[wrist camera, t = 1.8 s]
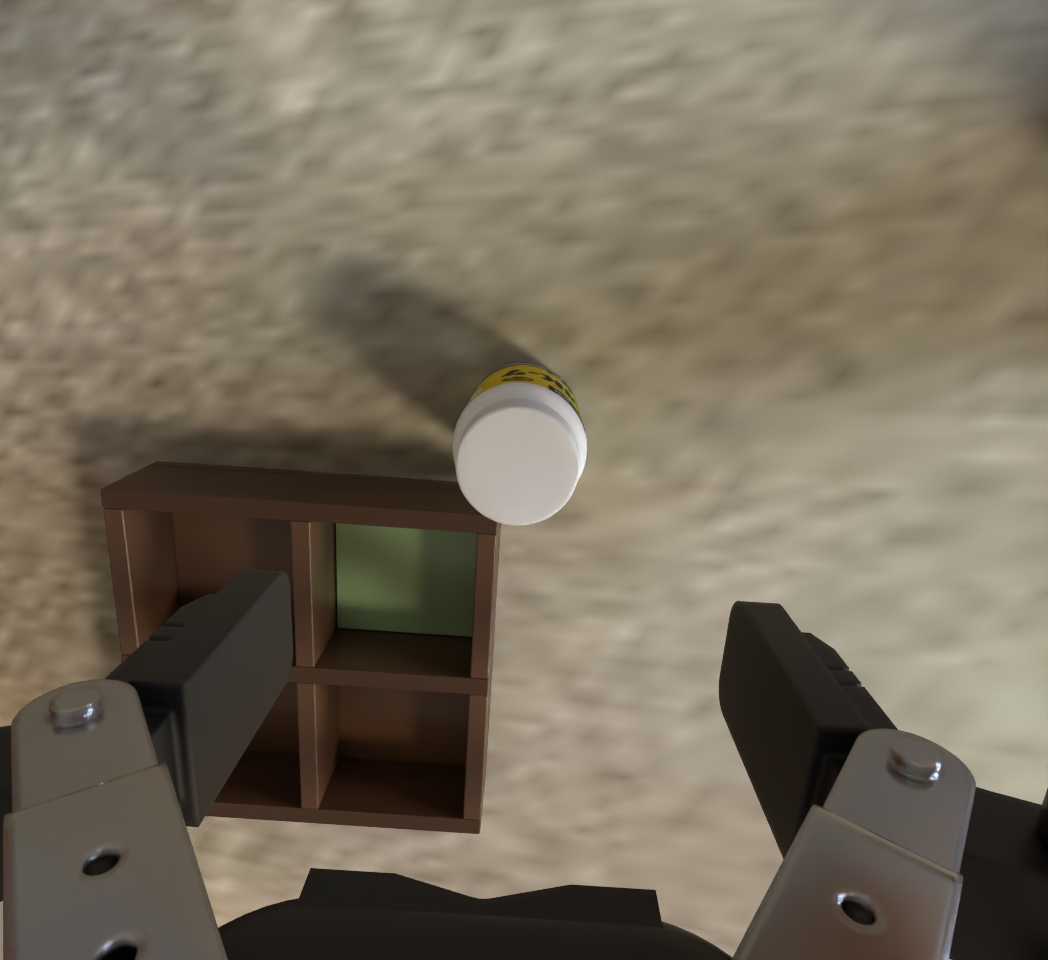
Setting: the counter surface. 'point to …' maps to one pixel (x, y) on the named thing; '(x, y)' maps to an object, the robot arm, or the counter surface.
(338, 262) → the counter surface
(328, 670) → the grid
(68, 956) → the robot arm
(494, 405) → the supplement bottle
